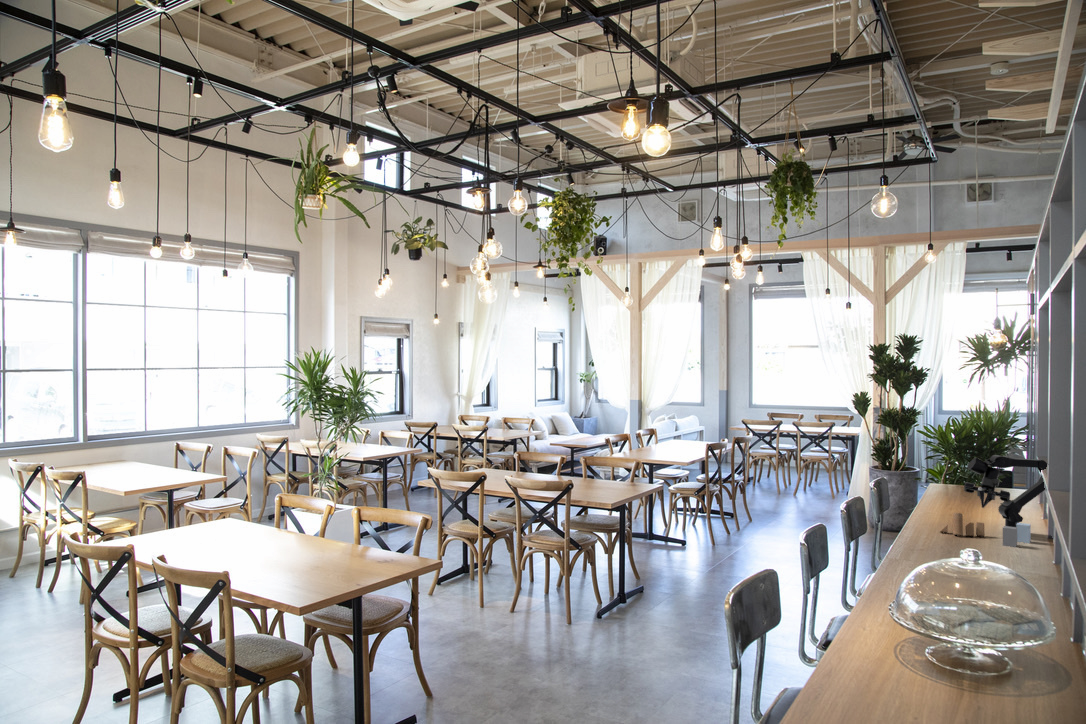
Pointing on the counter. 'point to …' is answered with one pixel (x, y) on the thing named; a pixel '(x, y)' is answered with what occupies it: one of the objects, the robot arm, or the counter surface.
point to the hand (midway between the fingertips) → (982, 507)
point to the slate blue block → (1023, 532)
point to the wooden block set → (969, 527)
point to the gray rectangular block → (1010, 536)
